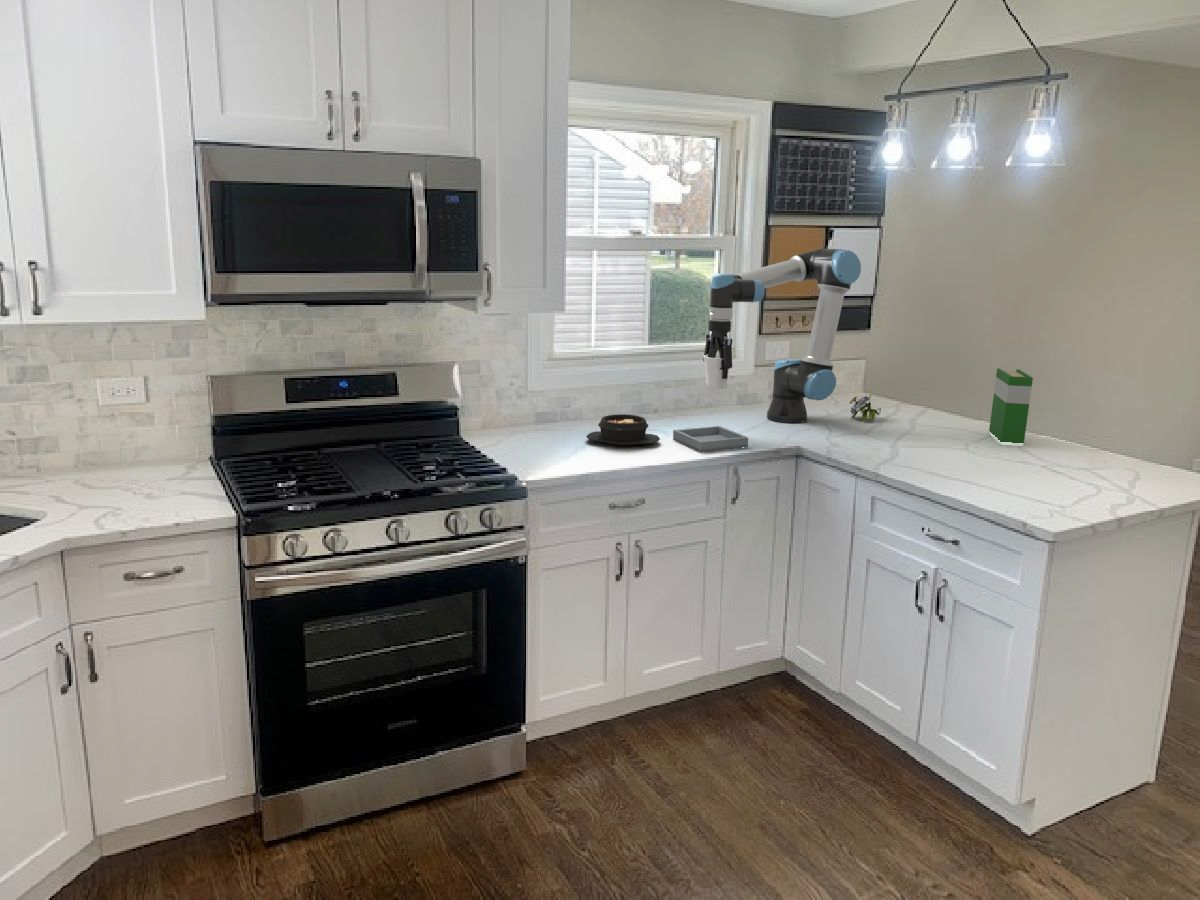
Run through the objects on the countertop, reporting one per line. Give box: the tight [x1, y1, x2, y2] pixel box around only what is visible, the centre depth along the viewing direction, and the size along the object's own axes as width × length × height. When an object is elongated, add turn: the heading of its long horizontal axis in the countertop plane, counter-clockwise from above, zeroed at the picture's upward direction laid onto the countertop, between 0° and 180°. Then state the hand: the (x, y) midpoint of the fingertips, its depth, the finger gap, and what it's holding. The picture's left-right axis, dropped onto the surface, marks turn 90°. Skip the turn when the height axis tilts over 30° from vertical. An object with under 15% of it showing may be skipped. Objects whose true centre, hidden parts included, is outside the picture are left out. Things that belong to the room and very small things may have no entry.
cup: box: [702, 354, 730, 390], centre depth 309 cm, size 10×10×11 cm
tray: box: [672, 425, 749, 453], centre depth 304 cm, size 18×18×4 cm
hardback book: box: [988, 367, 1034, 444], centre depth 313 cm, size 18×7×24 cm, turn 169°
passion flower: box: [849, 393, 882, 422], centre depth 345 cm, size 11×11×12 cm
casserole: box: [586, 413, 661, 447], centre depth 303 cm, size 25×19×8 cm
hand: (716, 385), depth 310 cm, fingers closed on cup, 8 cm apart
